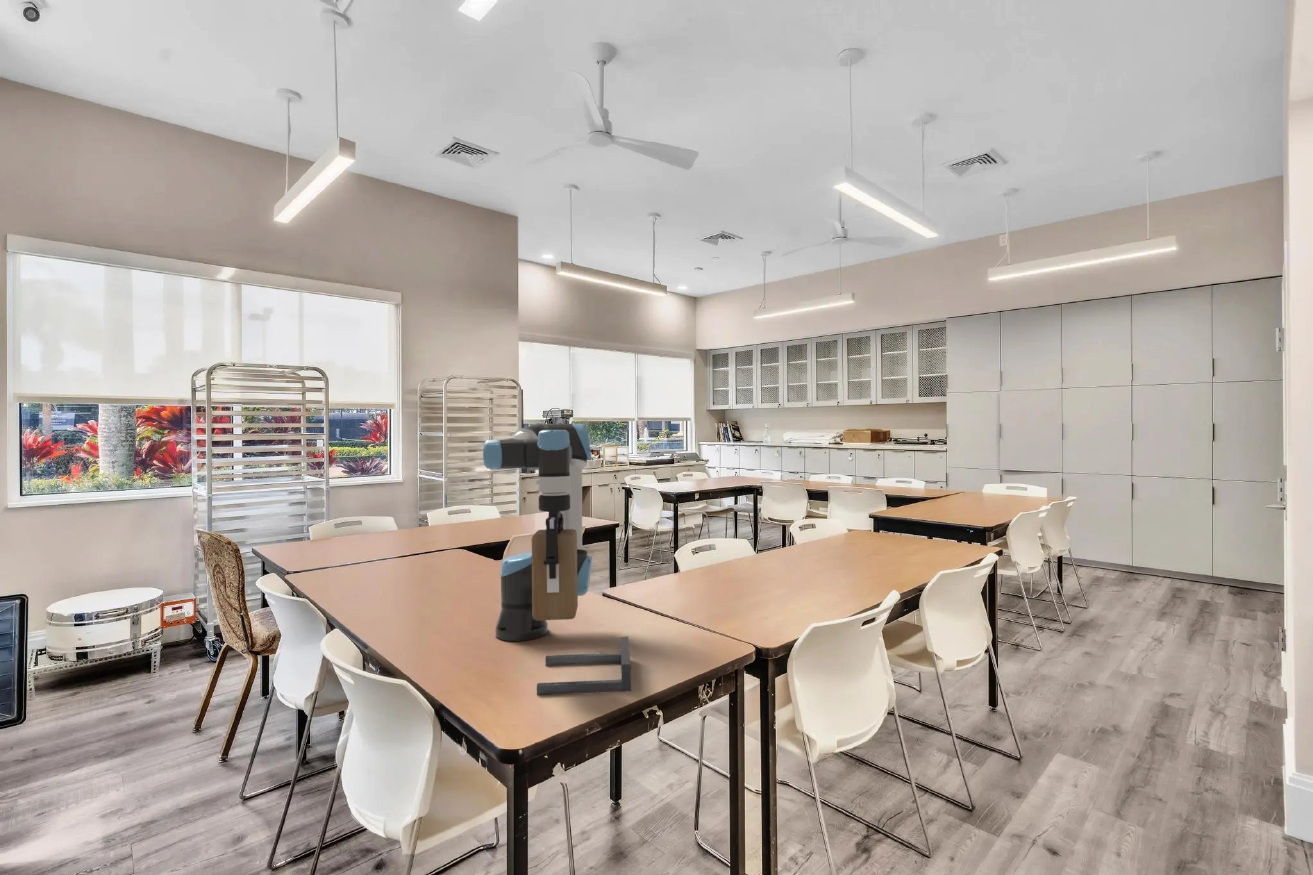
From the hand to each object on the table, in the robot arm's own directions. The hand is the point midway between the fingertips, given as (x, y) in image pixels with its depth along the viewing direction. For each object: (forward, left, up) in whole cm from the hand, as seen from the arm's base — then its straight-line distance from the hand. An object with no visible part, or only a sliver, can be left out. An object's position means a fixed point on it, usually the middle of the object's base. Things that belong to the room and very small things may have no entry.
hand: (555, 586), depth 145 cm
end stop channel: (+7, 0, -22) cm, 23 cm away
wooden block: (0, 0, -7) cm, 7 cm away
